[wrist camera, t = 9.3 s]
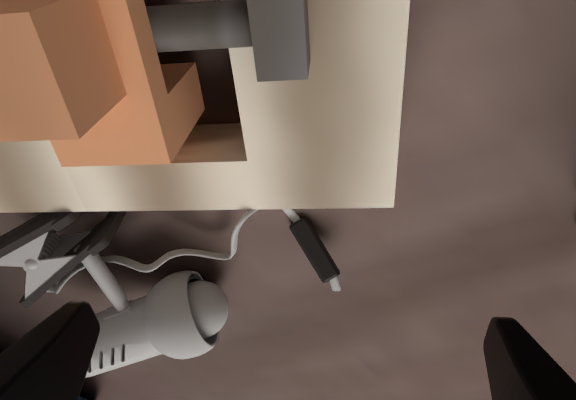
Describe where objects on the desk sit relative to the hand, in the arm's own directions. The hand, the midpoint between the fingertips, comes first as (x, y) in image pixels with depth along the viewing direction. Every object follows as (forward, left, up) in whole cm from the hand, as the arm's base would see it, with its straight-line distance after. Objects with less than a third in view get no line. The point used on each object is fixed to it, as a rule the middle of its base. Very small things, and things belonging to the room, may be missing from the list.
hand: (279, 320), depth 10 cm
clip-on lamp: (+8, +9, -13) cm, 18 cm away
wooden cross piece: (+6, -4, -11) cm, 13 cm away
